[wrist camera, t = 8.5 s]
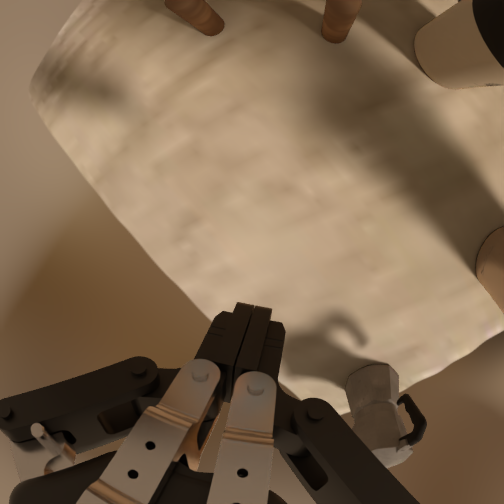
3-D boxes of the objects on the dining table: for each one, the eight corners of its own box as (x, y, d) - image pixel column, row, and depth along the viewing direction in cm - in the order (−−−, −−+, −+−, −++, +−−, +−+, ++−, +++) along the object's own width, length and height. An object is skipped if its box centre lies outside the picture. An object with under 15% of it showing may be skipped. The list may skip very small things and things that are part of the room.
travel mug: (402, 25, 19) (485, -43, 3) (458, 26, 17) (553, -13, 1) (426, 91, 22) (539, 80, 6) (479, 89, 20) (592, 91, 4)
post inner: (346, 24, 21) (361, -9, 13) (345, 45, 22) (361, 16, 14) (321, 20, 21) (327, -16, 13) (320, 41, 22) (326, 10, 14)
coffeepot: (369, 406, 43) (374, 492, 27) (327, 395, 43) (323, 489, 27) (425, 354, 36) (453, 451, 20) (382, 337, 36) (403, 449, 20)
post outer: (225, 15, 22) (196, -17, 14) (223, 35, 23) (192, 8, 15) (202, 17, 22) (166, -12, 14) (200, 36, 24) (162, 12, 16)
